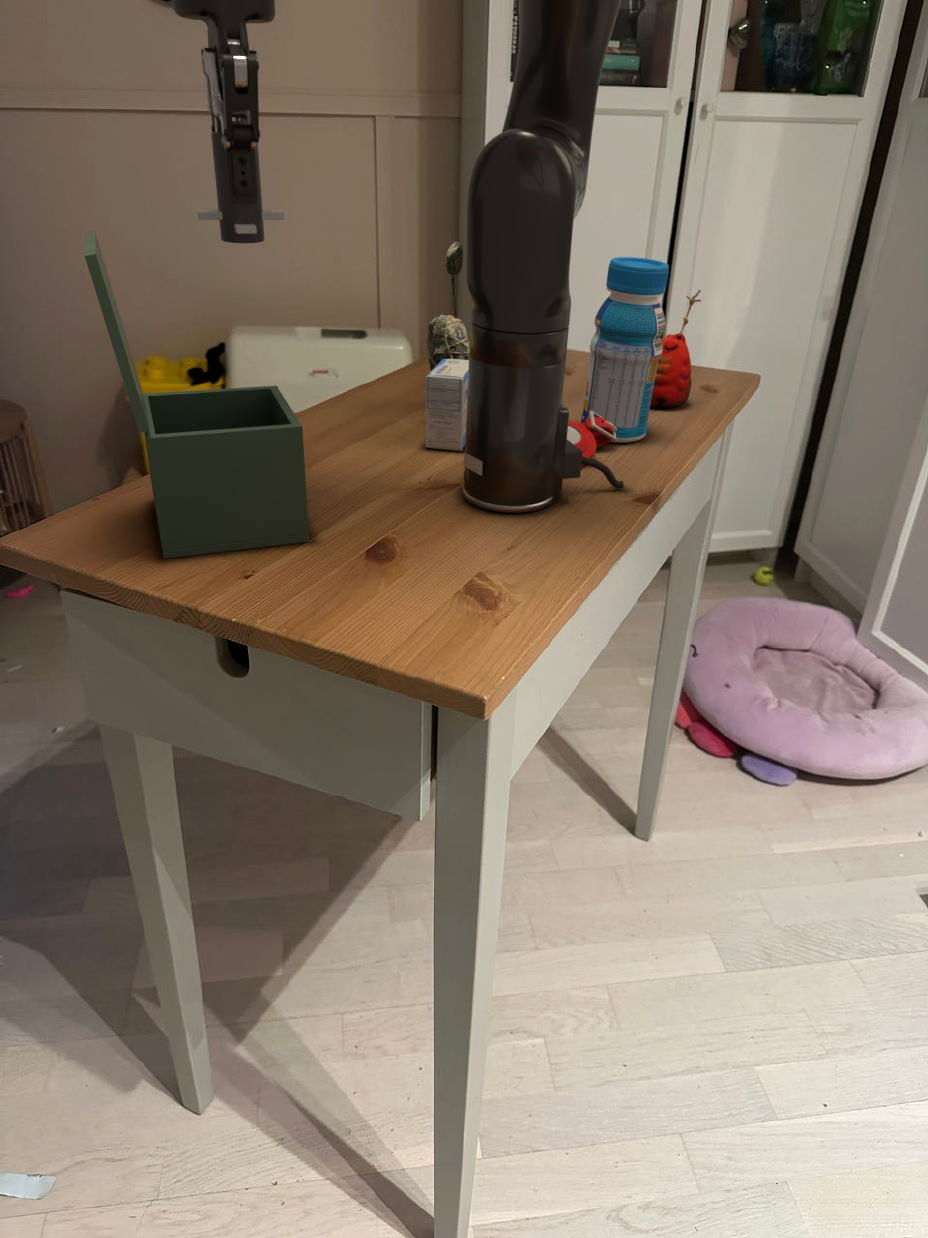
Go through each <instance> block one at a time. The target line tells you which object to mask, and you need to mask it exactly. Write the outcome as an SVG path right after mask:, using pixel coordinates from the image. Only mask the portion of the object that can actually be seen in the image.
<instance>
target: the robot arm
mask: <svg viewBox="0 0 928 1238" xmlns="http://www.w3.org/2000/svg"><path fill="white" fill-rule="evenodd" d="M621 3H622V0H518V26H519V27H518V28H519V30H518V32H519V33H518V51H517V58H516V59H517V60H516V65H515V66H516V67H515V72H514V77H513V82H512V83H513V84H512V88H511V94H510V96H509V102H508V106H507V111H506V115H505V119H504V123H503V126H502V130H501V132H500V133H499V134H497V135H496V136H494V137H492V139H490V140H489V141H488V142H487V143H486V144H485V145H484V146H483V147H482V149H481V150H480V151H479V153H478V154H477V156H476V158H475V160H474V162H473V164H472V168H471V171H470V175H469V180H468V189H467V197H466V198H467V199H466V225H465V226H466V228H465V229H466V233H465V234H466V237H465V242H466V244H465V252H466V253H465V281H466V282H465V283H466V290H467V294H468V298H469V303H470V304H469V305H470V314H469V315H470V316H469V317H470V318H469V319H470V320H469V321H470V322H469V367H468V392H467V418H466V443H465V446H464V452H463V453H464V454H463V468H464V471H463V484H462V496H463V498H464V499H465V500H466V501H467V502H469V503H470V504H472V505H473V506H476V507H478V508H481V509H483V510H484V509H485V510H490V511H493V512H501V513H526V512H527V513H529V512H534V511H538V510H540V509H544V508H546V507H548V506H549V505H551V504H553V503H559V502H561V501H562V491H563V483H564V481H563V480H570V479H578V478H581V472H582V466H581V464H584V465H583V466H588V467H592V468H593V469H596V470H598V471H599V472H601V473H602V474H603V475H604V477H605V479H606V480H607V481H608V483H609V485H611V486H612V487H613V488H615V489H618V490H621V489H623V488H624V485H625V484H624V481H623V480H618V479H617V478H616V477H615V475H614V473H613V472H612V470H611V469H610V468H609V467H608V466H607V465H605V464H604V463H603V462H601V461H598V460H597V459H593V458H592V459H591V458H588V457H584V456H582V454H583V451H582V450H581V449H579V448H578V447H576V446H575V445H574V444H572V443H571V442H570V441H568V440H567V432H568V421H570V410H569V409H568V407H566V406H565V405H563V395H564V394H563V393H564V386H565V385H564V383H565V374H566V363H567V362H566V361H567V353H568V352H567V351H568V342H569V341H568V340H569V329H570V327H569V326H570V321H571V311H572V310H571V309H572V296H571V292H570V266H571V254H572V243H573V232H574V221H575V219H576V217H577V216H578V214H579V212H580V210H581V208H582V207H583V203H584V201H585V196H586V193H587V186H588V177H589V176H588V175H589V167H590V157H591V156H590V155H591V148H592V147H591V146H592V137H593V129H594V123H595V115H596V109H597V108H596V107H597V100H598V93H599V88H600V81H601V77H602V71H603V66H604V62H605V59H606V55H607V51H608V48H609V45H610V41H611V37H612V34H613V32H614V29H615V24H616V21H617V17H618V14H619V10H620V8H621V5H622V4H621ZM172 7H173V10H174V12H175V14H176V15H177V16H178V17H180V18H182V19H188V20H194V21H201V22H203V23H205V25H206V28H207V31H206V33H207V47H203V48H200V49H199V56H200V67H201V71H202V73H203V74H204V81H205V92H206V93H205V94H206V106H207V109H208V112H209V114H210V118H211V119H210V120H211V125H210V129H211V130H210V131H211V133H213V132H222V137H223V138H221V141H222V145H224V150H230V151H225V158H226V170H227V181H228V193H229V198H230V200H231V201H233V202H234V203H254V202H256V200H257V183H256V169H255V155H254V152H253V151H256V146H257V143H258V144H259V142H260V138H261V131H260V122H259V121H260V120H259V119H260V116H259V112H260V102H259V71H260V70H259V69H260V63H259V59H258V58H259V57H258V52H257V50H255V49H254V50H253V49H252V50H251V49H250V44H249V35H248V28H247V24H268V23H271V22H273V20H274V19H275V17H276V3H275V0H172ZM233 118H234V120H233Z"/></svg>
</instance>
